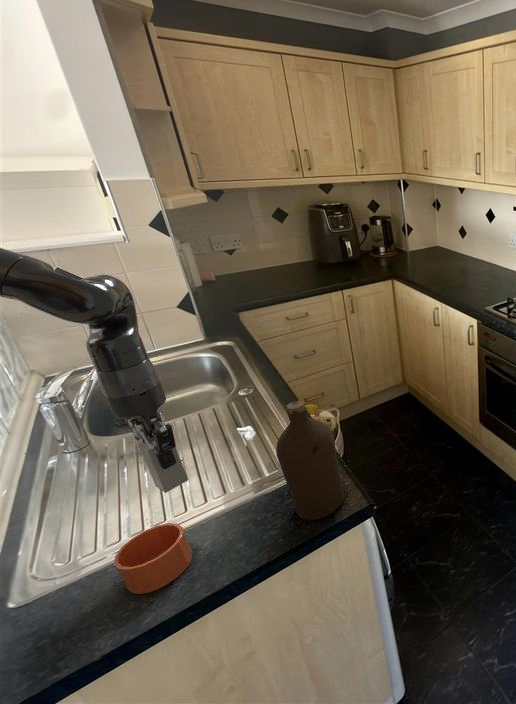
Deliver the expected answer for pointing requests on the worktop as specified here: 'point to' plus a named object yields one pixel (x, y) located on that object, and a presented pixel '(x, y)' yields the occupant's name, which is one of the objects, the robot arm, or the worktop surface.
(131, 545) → the bowl
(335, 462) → the olive oil
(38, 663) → the worktop surface
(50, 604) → the worktop surface
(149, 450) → the block
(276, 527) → the worktop surface
